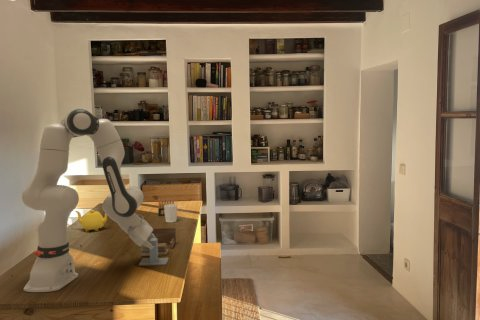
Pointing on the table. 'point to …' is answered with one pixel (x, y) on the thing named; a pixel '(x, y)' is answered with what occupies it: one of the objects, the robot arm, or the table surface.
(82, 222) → the teapot
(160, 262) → the felt mat
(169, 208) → the white cup
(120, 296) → the table surface
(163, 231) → the walnut rack
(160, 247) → the offcut stack
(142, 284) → the table surface
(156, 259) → the batten
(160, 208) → the ammunition clip
